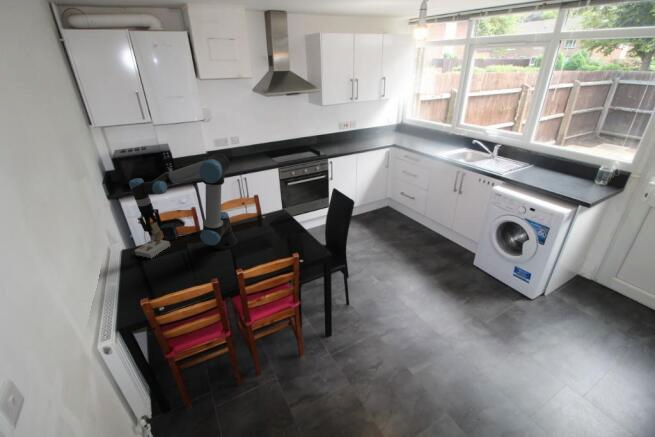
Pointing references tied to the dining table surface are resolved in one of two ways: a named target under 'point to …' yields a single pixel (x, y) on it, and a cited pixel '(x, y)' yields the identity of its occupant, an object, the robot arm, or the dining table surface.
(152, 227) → the peg
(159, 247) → the socket block
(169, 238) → the box
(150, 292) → the dining table surface
